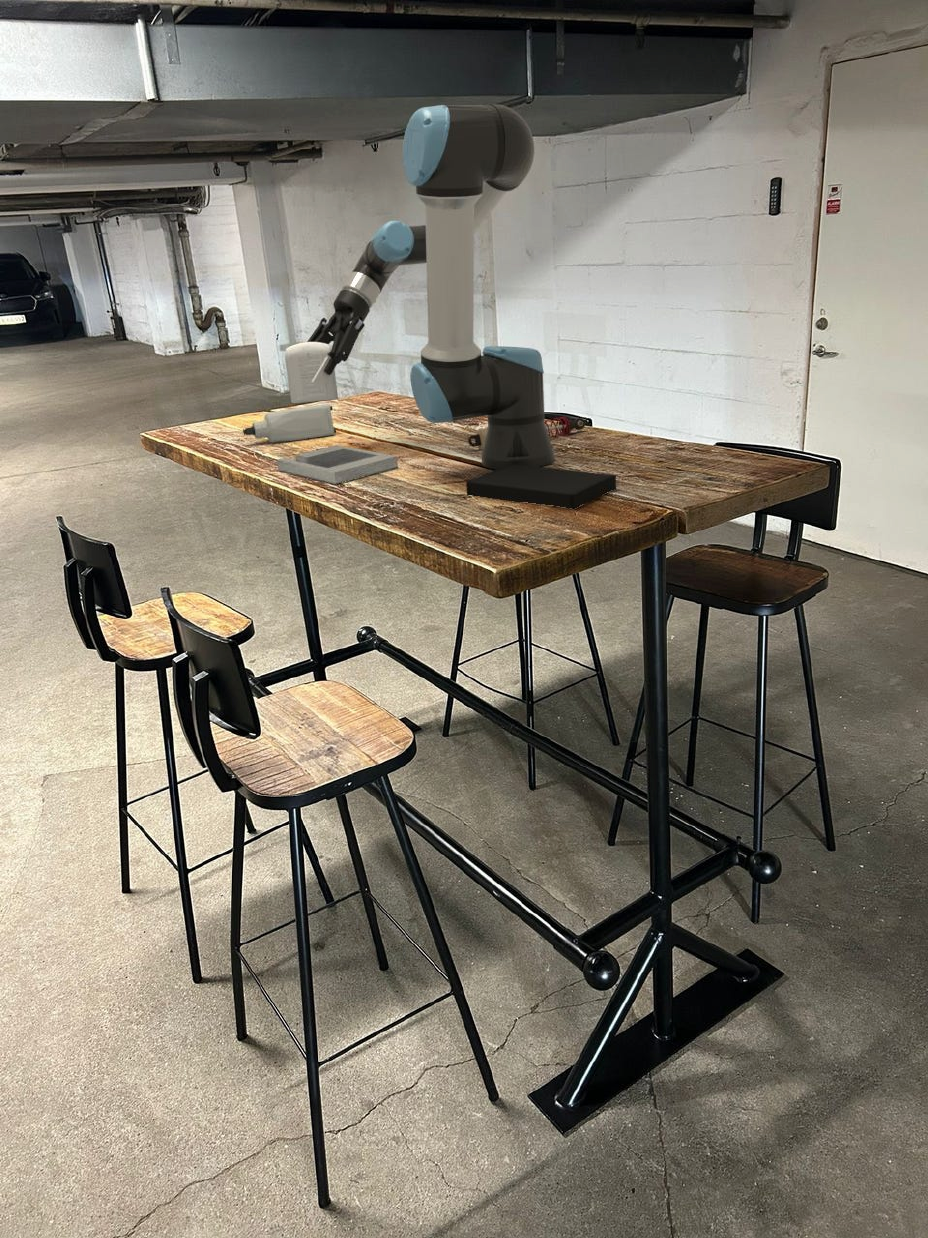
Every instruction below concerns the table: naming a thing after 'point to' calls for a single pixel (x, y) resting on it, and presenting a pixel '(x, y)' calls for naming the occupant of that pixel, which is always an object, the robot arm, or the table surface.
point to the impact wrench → (294, 424)
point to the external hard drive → (541, 485)
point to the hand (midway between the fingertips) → (305, 384)
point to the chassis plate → (337, 464)
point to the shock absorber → (564, 425)
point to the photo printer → (308, 372)
